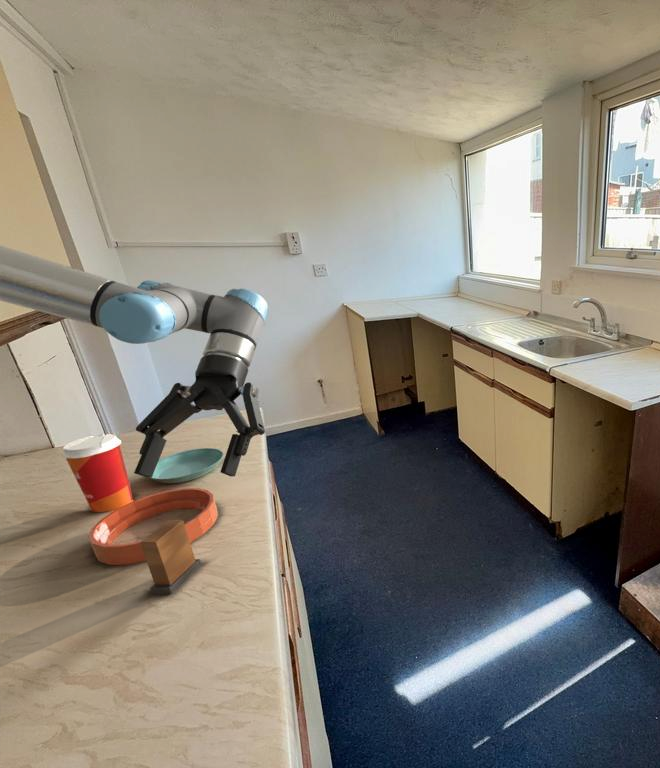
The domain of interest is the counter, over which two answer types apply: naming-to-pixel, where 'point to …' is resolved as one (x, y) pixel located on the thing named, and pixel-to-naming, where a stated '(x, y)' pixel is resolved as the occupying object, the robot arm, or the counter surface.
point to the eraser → (169, 556)
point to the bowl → (144, 509)
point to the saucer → (187, 465)
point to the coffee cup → (100, 471)
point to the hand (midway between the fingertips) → (185, 475)
